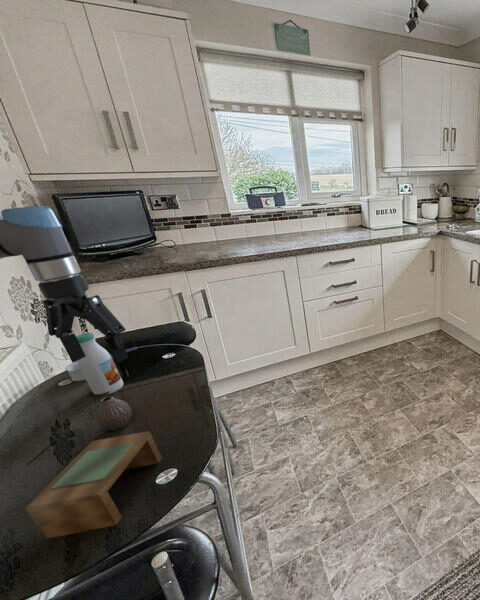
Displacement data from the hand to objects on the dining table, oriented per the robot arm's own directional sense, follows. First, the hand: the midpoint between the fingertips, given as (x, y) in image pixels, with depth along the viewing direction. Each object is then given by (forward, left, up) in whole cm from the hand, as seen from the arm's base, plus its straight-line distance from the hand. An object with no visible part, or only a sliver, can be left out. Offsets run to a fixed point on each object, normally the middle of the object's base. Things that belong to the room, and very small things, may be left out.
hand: (100, 359), depth 81 cm
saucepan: (-30, +38, -21) cm, 53 cm away
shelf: (+9, -22, -21) cm, 32 cm away
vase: (-4, +2, -21) cm, 21 cm away
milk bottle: (-20, +23, -21) cm, 37 cm away
